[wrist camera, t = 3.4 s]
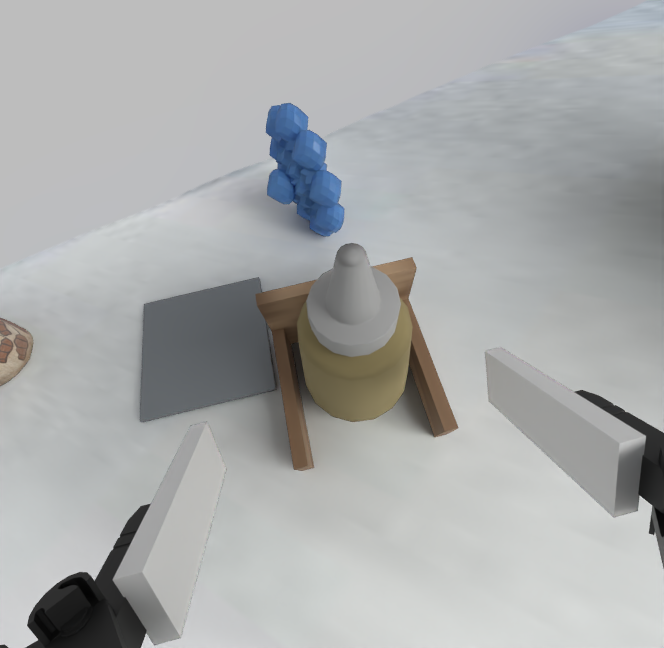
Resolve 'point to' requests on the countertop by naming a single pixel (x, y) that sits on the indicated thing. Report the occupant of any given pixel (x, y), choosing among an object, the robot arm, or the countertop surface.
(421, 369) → the brown wooden frame
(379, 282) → the squeeze bottle
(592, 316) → the countertop surface
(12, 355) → the figurine
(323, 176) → the grapes
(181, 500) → the robot arm
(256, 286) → the rubber mat
